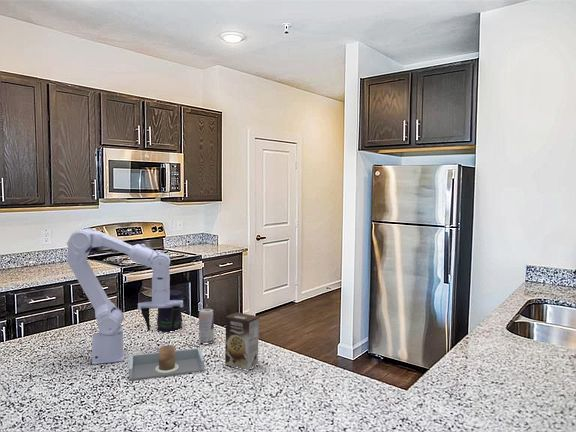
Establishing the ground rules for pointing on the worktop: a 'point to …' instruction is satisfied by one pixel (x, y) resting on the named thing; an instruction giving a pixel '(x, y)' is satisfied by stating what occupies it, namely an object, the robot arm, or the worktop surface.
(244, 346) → the coffee box
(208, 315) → the energy drink
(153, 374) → the grey tray
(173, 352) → the brown cylinder
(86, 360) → the worktop surface
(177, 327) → the storage jar
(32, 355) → the worktop surface
